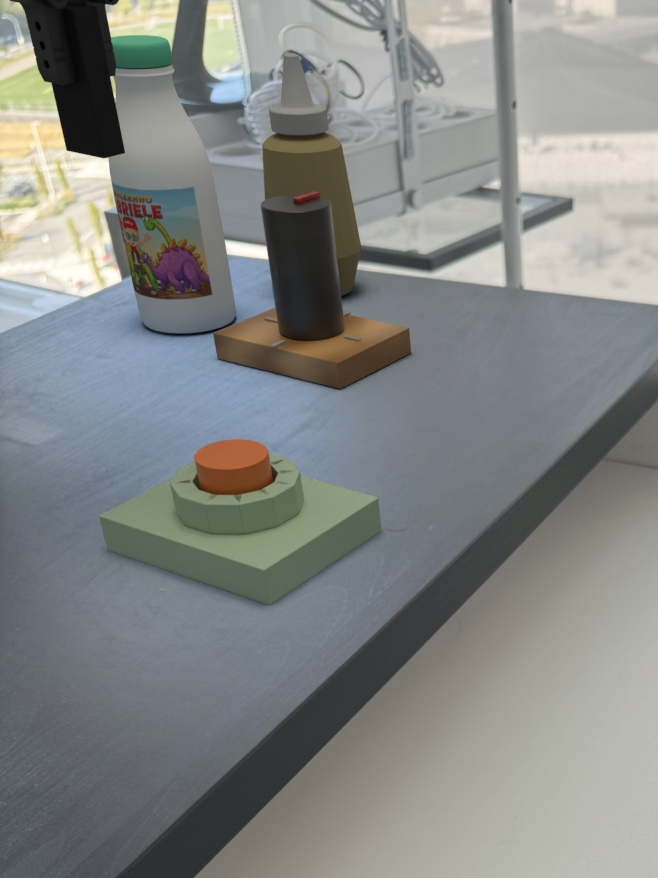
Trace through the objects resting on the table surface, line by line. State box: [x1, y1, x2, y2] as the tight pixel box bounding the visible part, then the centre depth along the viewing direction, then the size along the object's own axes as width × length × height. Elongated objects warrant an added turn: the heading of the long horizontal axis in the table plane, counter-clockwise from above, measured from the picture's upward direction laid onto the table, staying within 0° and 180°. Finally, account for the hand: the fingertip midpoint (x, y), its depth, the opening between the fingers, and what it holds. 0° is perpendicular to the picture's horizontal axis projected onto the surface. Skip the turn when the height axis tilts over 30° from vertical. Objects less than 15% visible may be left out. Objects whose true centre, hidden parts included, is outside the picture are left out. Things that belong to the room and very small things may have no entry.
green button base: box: [98, 452, 383, 606], centre depth 67 cm, size 12×10×4 cm
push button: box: [193, 438, 273, 495], centre depth 65 cm, size 4×4×2 cm
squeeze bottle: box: [261, 53, 362, 297], centre depth 98 cm, size 8×8×18 cm
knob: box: [260, 191, 345, 340], centre depth 87 cm, size 5×5×9 cm
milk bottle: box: [108, 34, 237, 334], centre depth 91 cm, size 8×8×20 cm
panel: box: [212, 307, 412, 390], centre depth 91 cm, size 12×9×2 cm
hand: (95, 151), depth 62 cm, fingers closed
